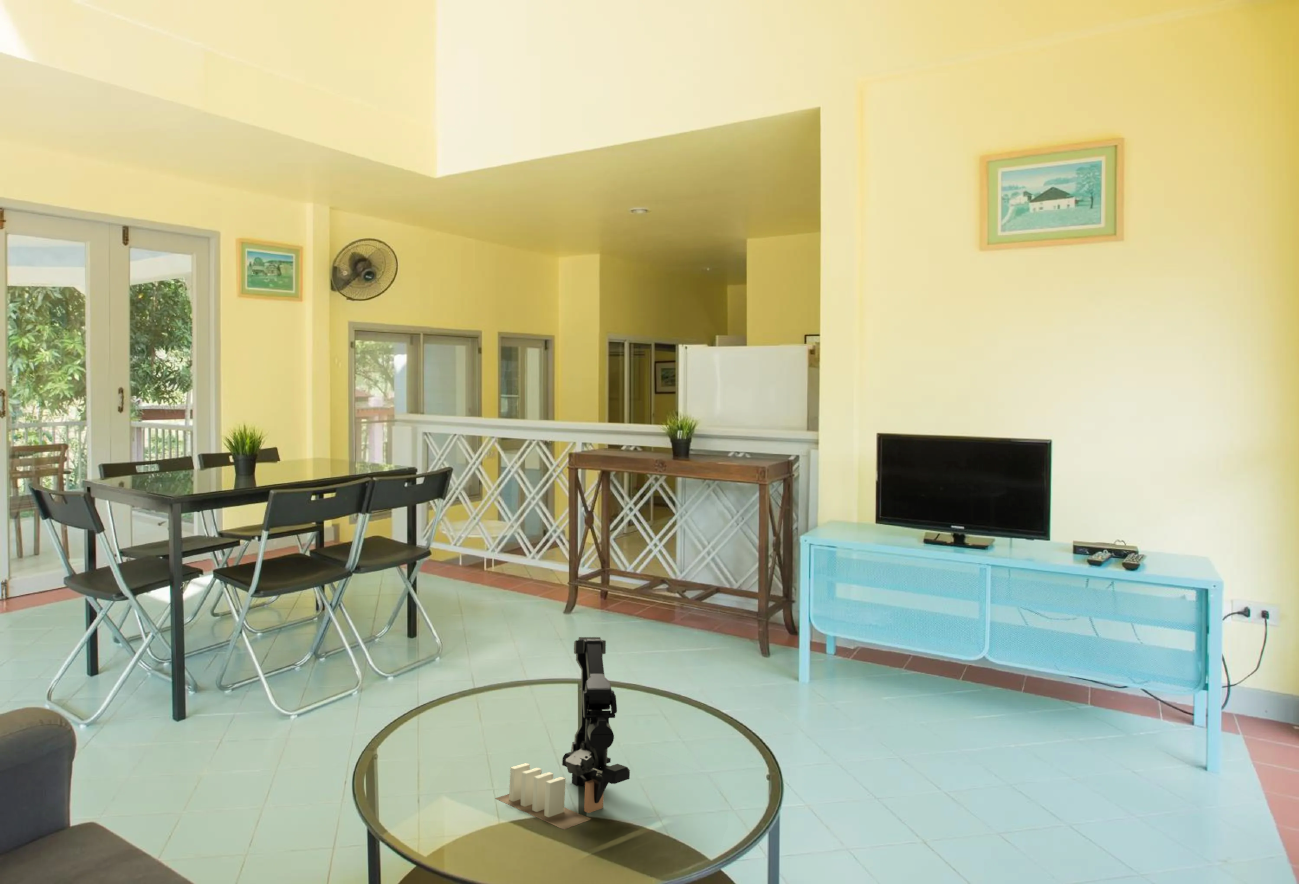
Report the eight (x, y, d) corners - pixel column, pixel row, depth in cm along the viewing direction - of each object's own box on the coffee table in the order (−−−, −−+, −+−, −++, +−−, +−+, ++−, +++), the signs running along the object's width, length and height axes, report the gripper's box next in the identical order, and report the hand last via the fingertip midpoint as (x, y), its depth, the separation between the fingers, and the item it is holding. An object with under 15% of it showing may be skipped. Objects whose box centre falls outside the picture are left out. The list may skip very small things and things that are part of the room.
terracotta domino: (583, 815, 198) (585, 781, 199) (598, 809, 202) (599, 777, 203) (588, 817, 197) (589, 783, 198) (602, 811, 201) (604, 778, 202)
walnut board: (494, 802, 204) (494, 798, 205) (522, 793, 211) (522, 789, 211) (563, 833, 187) (563, 829, 187) (591, 823, 194) (591, 818, 194)
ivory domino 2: (520, 804, 201) (522, 771, 201) (536, 799, 205) (537, 767, 205) (524, 806, 200) (526, 773, 200) (540, 801, 203) (541, 768, 204)
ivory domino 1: (508, 799, 204) (510, 767, 204) (524, 794, 208) (525, 762, 208) (512, 801, 203) (514, 768, 203) (528, 796, 207) (529, 764, 207)
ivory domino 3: (532, 809, 198) (533, 776, 198) (547, 804, 202) (549, 771, 202) (536, 811, 197) (537, 778, 197) (551, 806, 200) (553, 773, 201)
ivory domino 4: (544, 815, 195) (545, 781, 195) (559, 809, 199) (561, 776, 199) (548, 817, 194) (550, 783, 194) (564, 811, 198) (565, 778, 198)
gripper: (547, 735, 201) (544, 799, 200) (599, 753, 189) (597, 821, 188) (579, 726, 209) (577, 788, 208) (632, 743, 197) (629, 809, 196)
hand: (593, 801), depth 200 cm, fingers closed on terracotta domino, 2 cm apart
